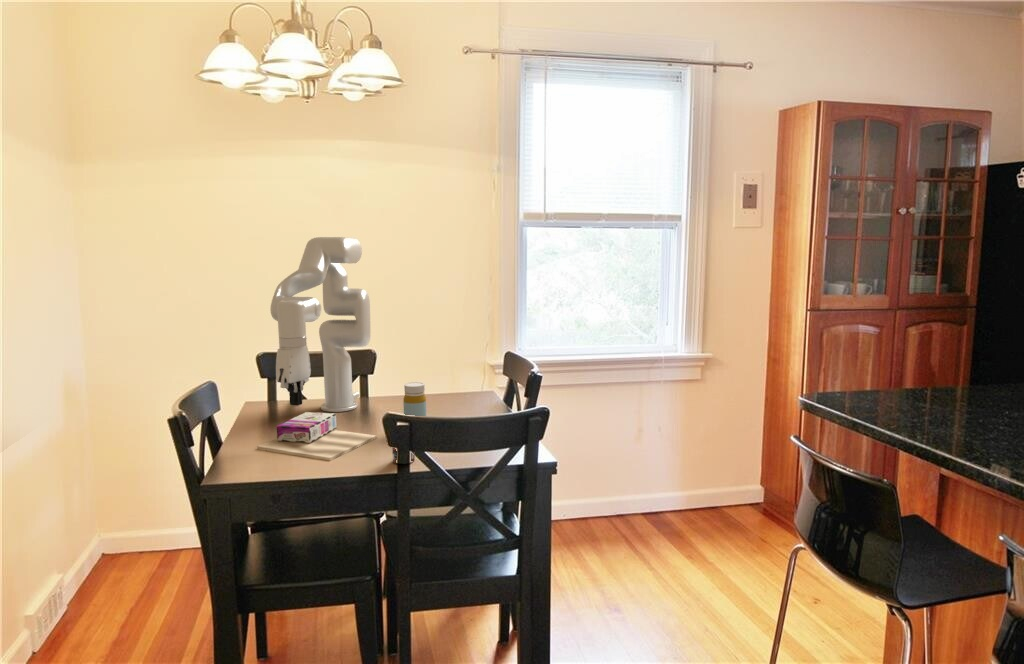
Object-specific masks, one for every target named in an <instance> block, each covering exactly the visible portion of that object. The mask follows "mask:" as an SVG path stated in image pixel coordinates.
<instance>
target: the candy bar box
mask: <svg viewBox="0 0 1024 664" xmlns="http://www.w3.org/2000/svg"><path fill="white" fill-rule="evenodd" d="M337 421H338V419H337V413H336V412H311V411H305V412H303V413H301V414H299V415H296V416H294V417H293V418H290V419H289V420H287V421H284V422H282V423H280V424H277V425H276V428H275V429H276V437H277V438H276V439H277V440H278V441H288V442H302V443H311V442H313V441H315V440H316V439H318V438H320V437H322V436H323V435H325V434H327V433H329V432H331V431H332V430H337V429H338V422H337Z"/></svg>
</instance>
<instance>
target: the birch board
mask: <svg viewBox="0 0 1024 664" xmlns="http://www.w3.org/2000/svg"><path fill="white" fill-rule="evenodd" d="M375 438H376V439H378V436H377V435H376V434H368V433H367V434H366V433H362V432H352V431H344V430H339V429H334V430H332V431H331V432H329V433H327V434H325V435H323V436H322V437H320V438H318V439H316V440H315V441H313V442H311V443H302V442H288V441H278V440H277V438H275V439H273V440H270V441H268V442H264V443H262V444H259V445H257V446H256V449H257V450H261V451H266V450H267V451H268V452H274V453H279V454H287V455H292V456H298V457H299V456H300V457H305V458H312V459H318V460H325V461H333V460H334V458H335V459H337V458H339V457H341V456H342V455H345V454H347V453H349V452H351V451H353V450H355V448H356V449H358V448H360V447H362V446H363V444H364V445H365V443H366V444H368V443H369V441H370V442H372V441H374V440H376V439H375ZM373 439H374V440H373ZM371 440H372V441H371ZM367 442H368V443H367ZM361 445H362V446H361ZM359 446H360V447H359ZM357 447H358V448H357ZM267 451H266V452H267Z"/></svg>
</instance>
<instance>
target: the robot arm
mask: <svg viewBox="0 0 1024 664" xmlns="http://www.w3.org/2000/svg"><path fill="white" fill-rule="evenodd" d="M362 254H363V250H362V245H361V243H360V241H359V240H358V238H355V237H354V238H352V237H343V236H341V237H340V236H319V237H313V238H311V239H309V240H308V241H307V243H306V244H305V248H304V251H303V254H302V257H301V259H300V262H299V266H298V269H297V270H295V271H293V272H292V273H290V274H289V275H287V277H285V278H284V279H282V280H281V282H280V283H278V285H277V287H276V288H275V290H274V293H273V296H272V299H271V303H270V316H271V317H272V319H273V320H275V321H276V322H277V329H278V330H277V332H278V345H279V346H278V349H277V352H276V359H275V379H276V380H275V381H276V382H277V383H280V388H281V389H286V391H287V392H288V393H289V405H291V406H295V407H298V406H301V405H303V391H304V386H305V384H306V383H308V382H309V381H310V379H309V378H310V376H311V371H312V369H311V358H310V353H309V348H308V345H307V344H308V343H307V328H306V327H307V326H306V323H312V322H315V321H317V320H318V319H319V317H320V316H321V314H322V305H323V311H324V313H325V314H326V315H329V316H337V317H339V316H341V317H342V316H343V317H345V316H347V317H348V316H349V317H352V316H353V317H354V318H355V319H329V320H325V321H323V322H322V323H321V324H320V326H319V328H318V335H319V336H318V337H319V339H320V345H321V350H322V361H323V385H324V386H323V387H324V401H325V402H324V403H322V404H321V405H320V409H321V410H322V412H323V411H324V412H327V413H339V412H341V413H343V412H347V411H352V410H355V409H356V408H358V403H357V402H356V401H355V399H357V398H359V397H360V393H359V392H358V391H356V392H353V377H352V376H353V375H352V374H353V373H352V357H351V355H350V353H349V352H348V351H347V349H346V348H349V347H350V348H352V347H353V348H356V347H357V348H360V347H362V348H363V347H366V346H368V345H369V343H370V342H371V303H370V302H371V301H370V300H371V299H370V296H369V294H368V292H367V291H366V290H365V289H364V288H349V285H348V273H347V271H346V269H345V268H344V266H343V265H342V264H356V263H359V261H360V260H361V259H362ZM321 284H322V305H321V303H320V301H319V299H317V298H316V297H312V296H295V295H297V294H299V293H301V292H304V291H308V290H311V289H313V288H317V286H318V287H319V286H320V285H321Z"/></svg>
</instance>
